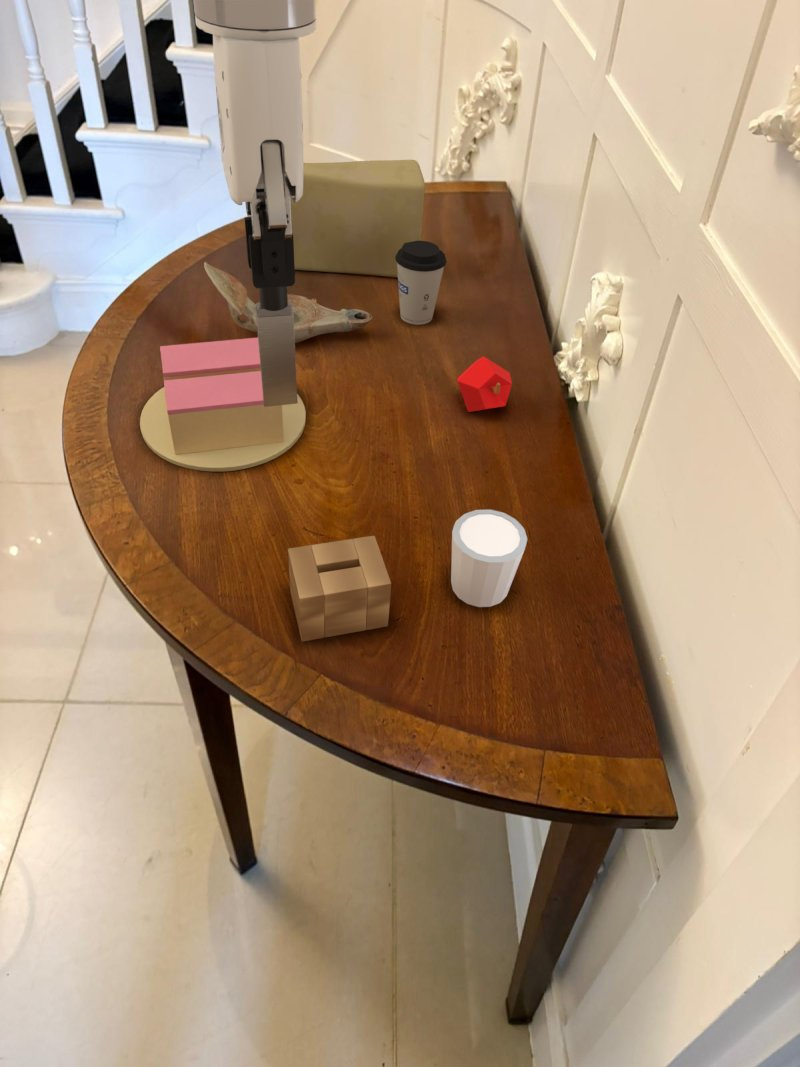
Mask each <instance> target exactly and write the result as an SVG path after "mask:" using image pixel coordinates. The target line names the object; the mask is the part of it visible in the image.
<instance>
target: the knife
mask: <svg viewBox="0 0 800 1067" xmlns="http://www.w3.org/2000/svg"><path fill="white" fill-rule="evenodd" d="M265 210H266V206H261V207H259V211H260V213H261V211H265ZM287 294H288V286H286V287H271V288H258V295H259V302H260V303H259V302H256V303H255V304H256V310H257V314H256V321H257V332H256V334H257V338H258V345H259V356H260V368H261V380H262V391H263V403H264V407H268V406H278V405H288V404H297V403H298V401H297V394H298V385H297V384H298V382H297V362H296V361H297V360H296V343H295V338H294V318H293V311H292V305H291V301H290V300H288V299H287Z"/></svg>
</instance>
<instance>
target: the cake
mask: <svg viewBox="0 0 800 1067" xmlns="http://www.w3.org/2000/svg"><path fill="white" fill-rule="evenodd" d="M159 349H160V359H161V367H162V375H163V387H161V388H160V389H158V390H157V391H156V392H155V393H153V395H152V396H150V398H149V399H148V400H147V402H146V403H145V405H144V406H143V409H142V410H141V414H140V417H139V426H140V432H141V436H142V439H143V442H145V444H146V446H148V448H149V449H150V450H151V451H152V452H153V453H154V454H155V455H156V456H158V457H159V458H161V459H163V460H164V461H167V462H168V463H170V464H172V465H175V466H178V467H182V468H186V469H188V470H194V471H200V472H212V473H213V472H219V473H220V472H223V473H224V472H232V471H233V472H234V471H239V470H246V469H250V468H254V467H257V466H261V465H263V464H266V463H268V462H271V461H272V460H274V459H277V458H278V457H280V456H282V455H283V454H285V453H286V452H288V450H290V449H291V448H292V447H293V446H294V445H295V444H297V442H298V440H299V439H300V438H301V436H302V434H303V432H304V431H305V426H306V422H307V412H306V407H305V404H304V401H303V400H302V398H301V396H300V395H299V394H298V393H297V401H298V403H297V404H288V405H278V406H268V407H264V403H263V391H262V380H261V368H260V356H259V345H258V337H249V338H238V339H226V340H214V341H203V342H192V343H181V344H169V345H160V346H159Z"/></svg>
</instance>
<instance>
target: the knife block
mask: <svg viewBox="0 0 800 1067" xmlns="http://www.w3.org/2000/svg"><path fill="white" fill-rule="evenodd" d="M287 558H288V561H287V562H288V576H289V592H290V596H291V601H292V606H293V610H294V614H295V618H296V623H297V628H298V631H299V637H300V641H301V643H302V642H309V641H313V640H319V639H324V638H330V637H336V636H341V635H346V634H353V633H359V632H364V631H370V630H375V629H382V628H387V627H389V617H390V606H391V591H392V581H391V578H390V575H389V572H388V570H387V566H386V564H385V561H384V558H383V555H382V552H381V550H380V547H379V544H378V541H377V538H376V535H368V536H362V537H356V538H355V537H354V538H349V539H343V540H342V539H341V540H335V541H329V542H323V543H316V544H309V545H303V546H296V547H290V548H287Z"/></svg>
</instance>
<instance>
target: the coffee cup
mask: <svg viewBox="0 0 800 1067" xmlns="http://www.w3.org/2000/svg"><path fill="white" fill-rule="evenodd" d="M395 259H396V262H397V269H398V278H397V284H398V299H399V300H398V301H399V313H400V314H399V315H400V318H401V320H402V321H403V322H405V323H407V324H410V325H416V326H417V325H418V326H419V325H426V324H428V323H430V322H431V321H432V320H433V316H434V312H435V308H436V304H437V299H438V295H439V290H440V287H441V282H442V279H443V278H442V277H443V275H444V274H443V273H444V270H445V266H446V265H447V257H446V254H445V253H444V252H443V250H441V249H440V248H439V246H438V245H437V244H436V243H434V242H431V241H426V240H421V241H412V242H407V243H404V245H403V246H402V248H401V249H399V251H398V252H397V254H396V256H395Z"/></svg>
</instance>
